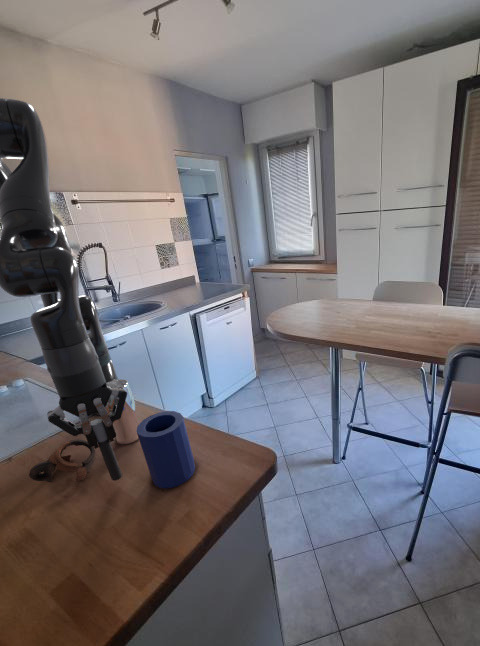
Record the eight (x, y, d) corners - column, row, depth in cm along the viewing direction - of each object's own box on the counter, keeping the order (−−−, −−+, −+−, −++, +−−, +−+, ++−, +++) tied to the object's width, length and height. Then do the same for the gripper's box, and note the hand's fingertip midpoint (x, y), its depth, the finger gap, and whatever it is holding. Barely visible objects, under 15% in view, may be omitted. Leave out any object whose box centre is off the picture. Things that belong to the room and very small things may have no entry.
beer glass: (123, 449, 81) (104, 396, 75) (109, 439, 85) (91, 388, 79) (149, 434, 86) (134, 383, 80) (135, 425, 90) (120, 376, 84)
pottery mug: (80, 454, 81) (87, 430, 78) (100, 482, 78) (107, 459, 74) (19, 476, 71) (24, 449, 68) (39, 509, 67) (44, 483, 64)
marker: (110, 477, 70) (88, 422, 64) (121, 471, 71) (101, 417, 66) (112, 482, 68) (90, 427, 63) (123, 477, 70) (103, 422, 64)
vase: (147, 472, 73) (131, 423, 68) (186, 453, 78) (174, 406, 73) (160, 495, 67) (144, 443, 61) (201, 473, 72) (189, 423, 66)
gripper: (112, 347, 66) (135, 420, 73) (25, 371, 58) (60, 449, 65) (121, 359, 60) (145, 436, 67) (27, 386, 53) (65, 470, 60)
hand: (103, 442), depth 66 cm, fingers closed on marker, 2 cm apart
